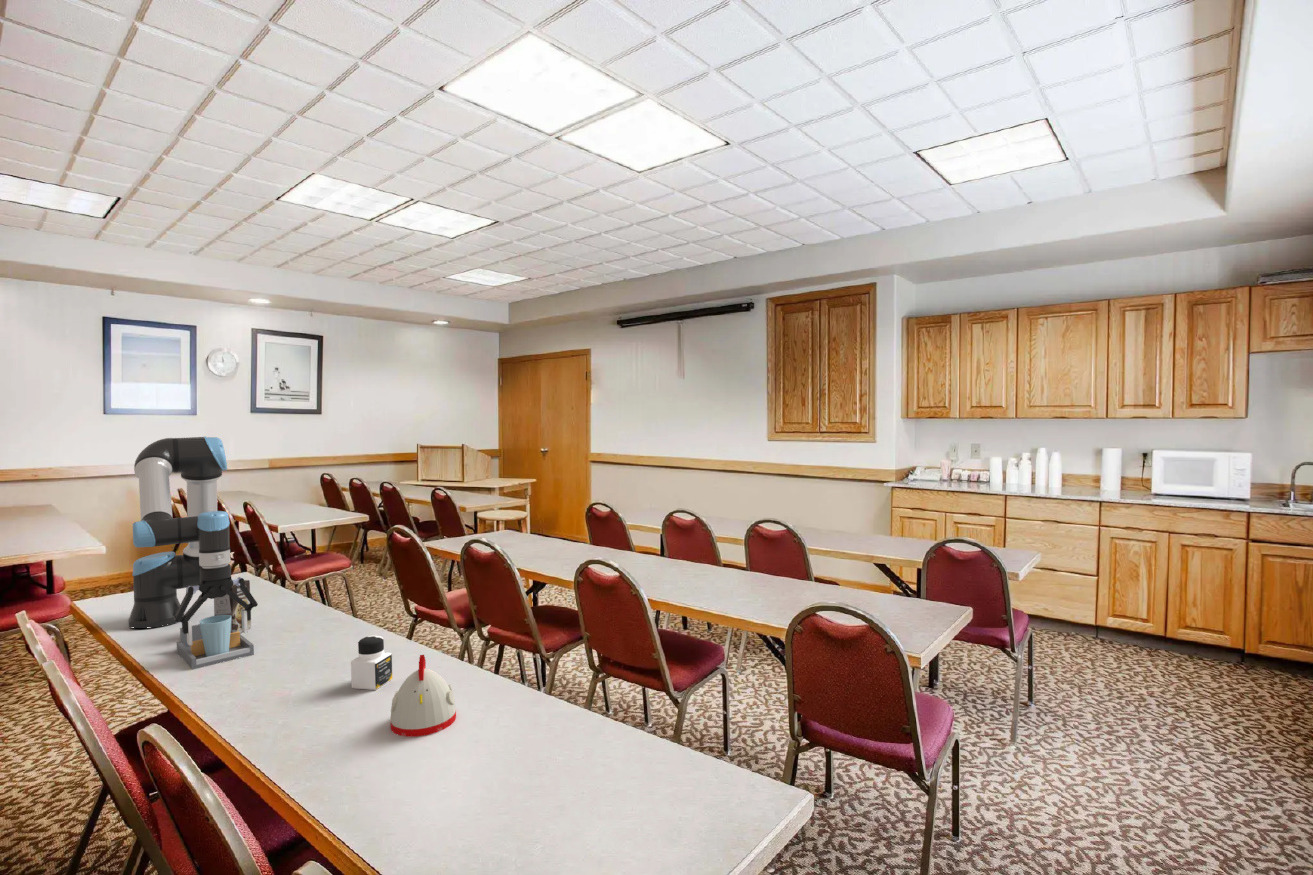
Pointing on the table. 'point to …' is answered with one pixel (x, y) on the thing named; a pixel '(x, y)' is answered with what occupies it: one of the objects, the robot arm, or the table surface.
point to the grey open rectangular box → (201, 660)
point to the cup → (216, 634)
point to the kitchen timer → (422, 704)
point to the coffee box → (232, 606)
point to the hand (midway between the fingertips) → (218, 638)
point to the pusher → (199, 646)
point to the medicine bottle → (371, 664)
